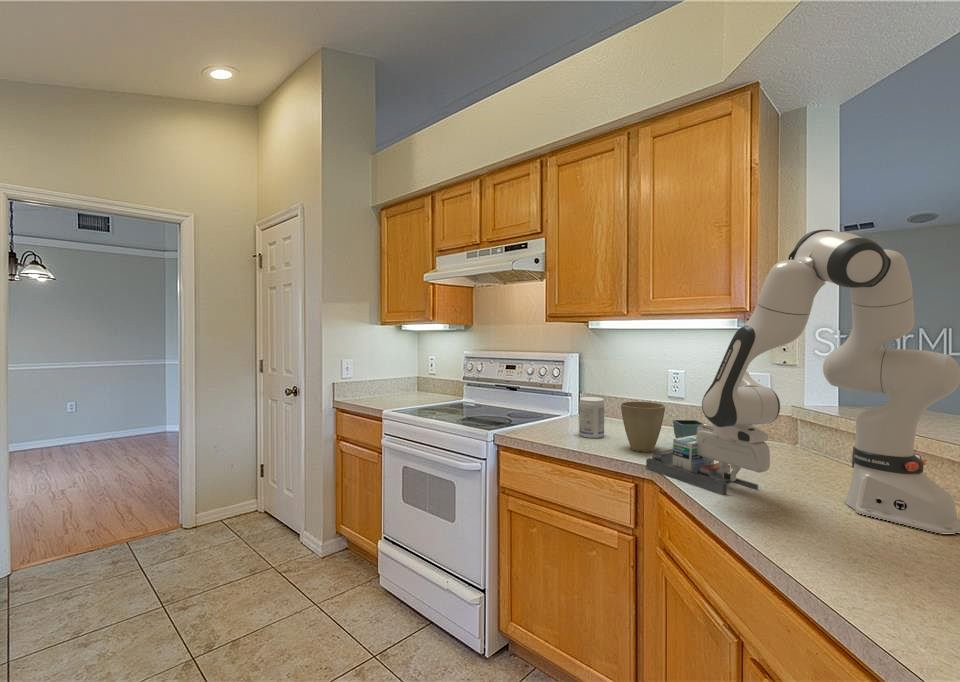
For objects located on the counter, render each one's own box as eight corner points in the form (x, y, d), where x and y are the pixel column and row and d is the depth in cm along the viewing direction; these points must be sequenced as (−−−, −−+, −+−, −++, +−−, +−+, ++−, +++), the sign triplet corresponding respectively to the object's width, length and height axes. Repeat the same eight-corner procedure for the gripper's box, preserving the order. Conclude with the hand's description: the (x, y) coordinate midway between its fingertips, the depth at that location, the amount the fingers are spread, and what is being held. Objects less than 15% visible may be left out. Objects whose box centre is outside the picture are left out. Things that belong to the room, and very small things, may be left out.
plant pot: (662, 445, 181) (663, 402, 180) (666, 456, 166) (667, 409, 166) (619, 442, 185) (620, 400, 184) (619, 453, 170) (620, 406, 170)
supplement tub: (597, 432, 201) (598, 396, 201) (608, 438, 192) (609, 400, 191) (574, 433, 199) (575, 397, 198) (585, 439, 190) (585, 400, 189)
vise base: (758, 489, 135) (758, 471, 135) (728, 496, 129) (728, 478, 129) (674, 462, 159) (675, 448, 159) (646, 468, 153) (646, 453, 153)
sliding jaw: (729, 480, 141) (730, 465, 141) (708, 485, 136) (709, 469, 136) (720, 477, 143) (720, 462, 143) (699, 482, 139) (699, 466, 139)
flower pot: (671, 443, 184) (672, 419, 184) (695, 444, 184) (696, 419, 184) (680, 449, 175) (681, 424, 175) (705, 450, 175) (706, 424, 175)
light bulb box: (690, 480, 141) (691, 443, 141) (671, 474, 147) (672, 438, 147) (714, 475, 147) (715, 439, 146) (694, 469, 153) (695, 434, 152)
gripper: (690, 423, 143) (688, 470, 143) (759, 438, 125) (757, 492, 126) (704, 421, 146) (703, 467, 146) (774, 435, 128) (772, 489, 129)
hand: (729, 479), depth 136 cm, fingers closed
